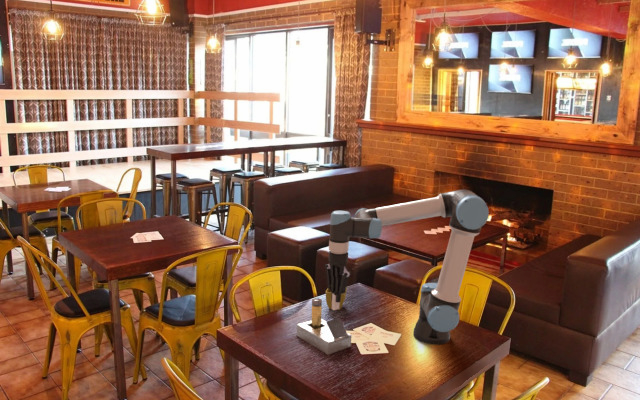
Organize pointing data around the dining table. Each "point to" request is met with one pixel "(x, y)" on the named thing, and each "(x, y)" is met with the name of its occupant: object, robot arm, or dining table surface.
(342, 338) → the ring flap
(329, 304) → the flower pot
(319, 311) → the lynch pin
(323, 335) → the block
